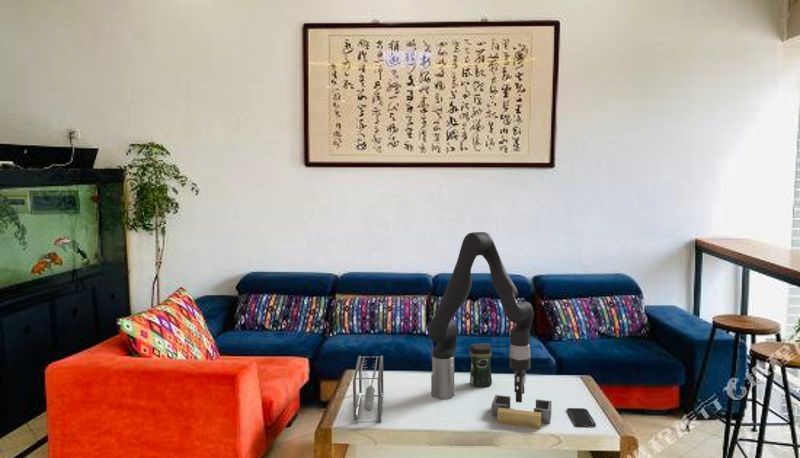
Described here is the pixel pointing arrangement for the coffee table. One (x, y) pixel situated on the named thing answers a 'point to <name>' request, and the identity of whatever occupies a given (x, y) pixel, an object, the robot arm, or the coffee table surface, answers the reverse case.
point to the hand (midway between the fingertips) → (520, 397)
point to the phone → (581, 417)
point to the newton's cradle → (370, 390)
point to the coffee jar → (480, 365)
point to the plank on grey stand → (541, 407)
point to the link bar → (519, 418)
